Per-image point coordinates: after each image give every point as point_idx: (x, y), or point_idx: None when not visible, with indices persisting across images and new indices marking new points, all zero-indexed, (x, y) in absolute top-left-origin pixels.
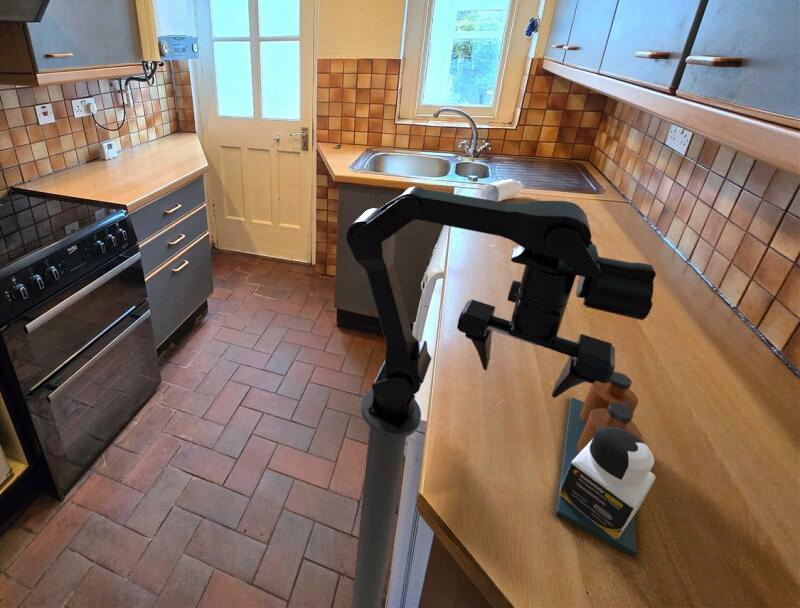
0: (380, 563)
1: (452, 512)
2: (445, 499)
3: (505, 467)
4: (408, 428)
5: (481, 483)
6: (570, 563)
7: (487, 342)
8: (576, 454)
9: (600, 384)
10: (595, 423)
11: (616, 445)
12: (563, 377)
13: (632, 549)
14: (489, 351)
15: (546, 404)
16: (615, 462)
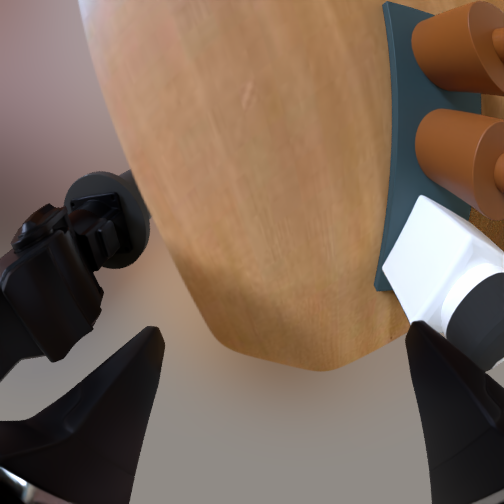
0: None
1: (252, 347)
2: (239, 340)
3: (300, 254)
4: (140, 242)
5: (272, 300)
6: (381, 325)
7: (114, 491)
8: (413, 164)
9: (481, 26)
10: (478, 191)
11: (487, 364)
12: (437, 462)
13: None
14: (123, 402)
15: (343, 34)
16: None
